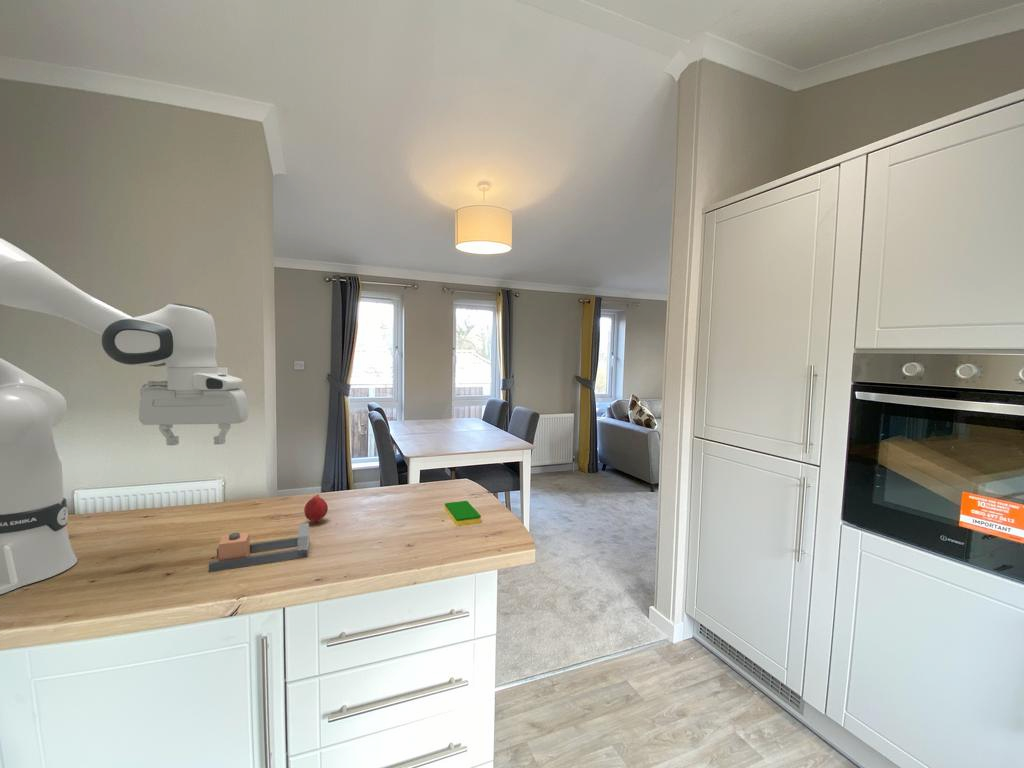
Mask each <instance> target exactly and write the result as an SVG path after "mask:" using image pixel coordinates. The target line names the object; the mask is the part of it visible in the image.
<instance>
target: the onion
mask: <svg viewBox="0 0 1024 768" xmlns="http://www.w3.org/2000/svg"><path fill="white" fill-rule="evenodd" d="M328 509H329V507H328V504H327V502H326V500H324V499H323V498H321V497H320V494H318V493H315V494H314V495H313V497H312V498H310V499H309V500H308V501H307V502H306V504H305V506H304V509H303V511H304V512H303V513H304V516H305V518H306V519H307V520H309V521H310V522H312V523H315V524H317V523H319V522H320V521H321V520H322V519H324V517H326V516H327V513H328Z"/></svg>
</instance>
